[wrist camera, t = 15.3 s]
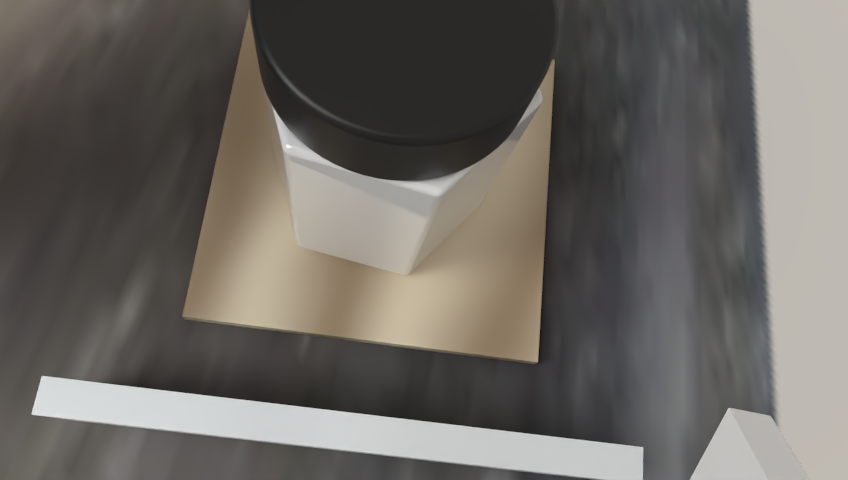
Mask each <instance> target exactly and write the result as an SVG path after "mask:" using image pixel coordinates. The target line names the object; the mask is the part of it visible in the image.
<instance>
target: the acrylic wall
mask: <svg viewBox="0 0 848 480" xmlns="http://www.w3.org/2000/svg"><path fill="white" fill-rule="evenodd" d="M31 415H38V416H45V417H52V418H59V419H66V420H73V421H82V422H91V423H100V424H108V425H117V426H126V427H135V428H144V429H152V430H161V431H170V432H179V433H188V434H196V435H205V436H214V437H223V438H232V439H241V440H249V441H258V442H267V443H276V444H285V445H293V446H302V447H311V448H320V449H329V450H338V451H346V452H355V453H364V454H373V455H382V456H390V457H399V458H408V459H417V460H426V461H435V462H443V463H452V464H461V465H470V466H479V467H487V468H496V469H505V470H514V471H523V472H532V473H540V474H549V475H558V476H567V477H576V478H584V479H593V480H643V447H637V446H628V445H620V444H611V443H603V442H594V441H586V440H578V439H569V438H561V437H552V436H544V435H536V434H527V433H519V432H510V431H502V430H493V429H485V428H477V427H468V426H460V425H451V424H443V423H434V422H426V421H418V420H409V419H401V418H392V417H384V416H375V415H367V414H359V413H350V412H342V411H333V410H325V409H316V408H308V407H300V406H291V405H283V404H274V403H266V402H257V401H249V400H241V399H232V398H224V397H215V396H207V395H199V394H190V393H182V392H173V391H165V390H156V389H148V388H140V387H131V386H123V385H114V384H106V383H97V382H89V381H81V380H72V379H64V378H55V377H47V376H42V377H41V381H40V385H39V388H38V392H37V396H36V399H35V403H34V407H33V410H32V414H31Z"/></svg>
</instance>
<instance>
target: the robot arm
mask: <svg viewBox="0 0 848 480" xmlns="http://www.w3.org/2000/svg"><path fill="white" fill-rule="evenodd" d="M690 480H810V479H809V478H808V476H807V474H806V473H805V471H804V470H803V468H802V466H801V465H800V463H799V461H798V460H797V458H796V457H795V455H794V453H793V452H792V450H791V448H790V447H789V445H788V443H787V442H786V440H785V439H784V437H783V435H782V434H781V432H780V430H779V429H778V427H777V425H776V424H775V422H774V421H773V419H772V417H771V416H769V415H764V414H759V413H754V412H749V411H744V410H739V409H733V408H728V410H727V412H726V414H725V416H724V418H723V419H722V421H721V423H720V425H719V427H718V429H717V430H716V432H715V434H714V436H713V438H712V440H711V442H710V443H709V445H708V447H707V449H706V451H705V453H704V454H703V456H702V458H701V460H700V462H699V464H698V466H697V467H696V469H695V471H694V473H693V475H692V477H691V478H690Z"/></svg>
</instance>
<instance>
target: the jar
mask: <svg viewBox="0 0 848 480" xmlns="http://www.w3.org/2000/svg"><path fill="white" fill-rule="evenodd" d="M249 9H250V19H251V25H252V30H253V36H254V42H255V47H256V53H257V59H258V64H259V70H260V75H261V81H262V87H263V92H264V98H265V104H266V109H267V115H268V121H269V126H270V132H271V138H272V143H273V149H274V153H275V157H276V161H277V165H278V169H279V173H280V177H281V182H282V186H283V190H284V194H285V198H286V202H287V206H288V210H289V215H290V219H291V223H292V227H293V231H294V235H295V239H296V243H297V244H298V245H299V246H300V247H303V248H306V249H310V250H313V251H317V252H321V253H324V254H328V255H331V256H335V257H339V258H342V259H346V260H349V261H353V262H357V263H360V264H364V265H367V266H371V267H375V268H378V269H382V270H385V271H389V272H392V273H396V274H400V275H408V274H409V273H411V272H412V271H413V270H414V269H415V268H416V267H417V266H418V265H419V264H420V263H421V262H422V261H423V260H424V259H425V258H426V257H427V256H428V255H429V254H430V253H431V252H432V251H433V250H434V249H435V248H436V247H437V246H438V245H439V244H441V243H442V242H443V241H444V240H445V239H446V238H447V237H448V236H449V235H450V234H451V233H452V232H453V231H454V230H455V229H456V228H457V227H458V226H459V225H460V224H461V223H462V222H463V221H464V220H465V219H466V218H467V217H468V216H469V215H471V214H472V213H473V212H474V211H475V210H476V209H477V208H478V207H479V206H480V204H481V203H482V201H483V199H484V198H485V196H486V194H487V193H488V191H489V189H490V188H491V186H492V184H493V183H494V181H495V179H496V178H497V176H498V174H499V173H500V171H501V170H502V168H503V166H504V165H505V163H506V161H507V160H508V158H509V156H510V155H511V153H512V151H513V150H514V148H515V146H516V145H517V143H518V141H519V140H520V138H521V136H522V135H523V133H524V132H525V130H526V128H527V127H528V125H529V123H530V122H531V120H532V118H533V117H534V115H535V113H536V112H537V110H538V108H539V107H540V105H541V103H542V100H543V96H542V93H541V90H540V85H541V83H542V81H543V80H544V78H545V76H546V74H547V72H548V69H549V67H550V64H551V62H552V58H553V55H554V51H555V47H556V41H557V34H558V14H557V5H556V0H249Z"/></svg>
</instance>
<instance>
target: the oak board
mask: <svg viewBox="0 0 848 480" xmlns="http://www.w3.org/2000/svg"><path fill="white" fill-rule="evenodd" d="M554 66H555V60H552V62H551V64H550V67H549V69H548V72H547V74H546V76H545V78H544V80H543V81H542V83H541V85H540V90H541V93H542V96H543V100H542V103H541V105H540V107H539V108H538V110H537V112H536V113H535V115H534V117H533V118H532V120H531V122H530V123H529V125H528V127H527V128H526V130H525V132H524V133H523V135H522V136H521V138H520V140H519V141H518V143H517V145H516V146H515V148H514V150H513V151H512V153H511V155H510V156H509V158H508V160H507V161H506V163H505V165H504V166H503V168H502V170H501V171H500V173H499V174H498V176H497V178H496V179H495V181H494V183H493V184H492V186H491V188H490V189H489V191H488V193H487V194H486V196H485V198H484V199H483V201H482V203H481V204H480V206H479V207H478V208H477V209H476V210H475V211H474V212H473V213H472V214H471V215H469V216H468V217H467V218H466V219H465V220H464V221H463V222H462V223H461V224H460V225H459V226H458V227H457V228H456V229H455V230H454V231H453V232H452V233H451V234H450V235H449V236H448V237H447V238H446V239H445V240H444V241H443V242H442V243H441V244H439V245H438V246H437V247H436V248H435V249H434V250H433V251H432V252H431V253H430V254H429V255H428V256H427V257H426V258H425V259H424V260H423V261H422V262H421V263H420V264H419V265H418V266H417V267H416V268H415V269H414V270H413V271H412V272H411V273H409V274H408V275H400V274H396V273H392V272H389V271H385V270H382V269H378V268H375V267H371V266H367V265H364V264H360V263H357V262H353V261H349V260H346V259H342V258H339V257H335V256H331V255H328V254H324V253H321V252H317V251H313V250H310V249H306V248H303V247H300V246H299V245H298V244H297V243H296V239H295V235H294V231H293V227H292V223H291V219H290V215H289V210H288V206H287V202H286V198H285V194H284V190H283V186H282V182H281V177H280V173H279V169H278V165H277V161H276V157H275V153H274V149H273V143H272V138H271V132H270V126H269V121H268V115H267V109H266V104H265V98H264V92H263V87H262V81H261V75H260V70H259V64H258V59H257V53H256V47H255V42H254V36H253V30H252V25H251V19H250V9H249V13H248V17H247V22H246V26H245V31H244V36H243V40H242V45H241V49H240V54H239V59H238V63H237V68H236V72H235V77H234V81H233V86H232V91H231V95H230V100H229V104H228V109H227V114H226V118H225V123H224V127H223V132H222V136H221V141H220V146H219V150H218V155H217V159H216V164H215V169H214V173H213V178H212V182H211V187H210V191H209V196H208V201H207V205H206V210H205V214H204V219H203V224H202V228H201V233H200V237H199V242H198V246H197V251H196V256H195V260H194V265H193V269H192V274H191V279H190V283H189V288H188V292H187V297H186V301H185V306H184V311H183V315H182V317H183V318H184V319H185V320H193V321H201V322H209V323H216V324H224V325H232V326H240V327H248V328H255V329H263V330H271V331H279V332H287V333H294V334H302V335H310V336H318V337H326V338H333V339H341V340H349V341H357V342H364V343H372V344H380V345H388V346H396V347H403V348H411V349H419V350H427V351H435V352H442V353H450V354H458V355H466V356H474V357H481V358H489V359H497V360H505V361H513V362H520V363H528V364H535V363H538V354H539V336H540V318H541V300H542V282H543V264H544V246H545V228H546V210H547V192H548V174H549V156H550V138H551V120H552V102H553V84H554Z"/></svg>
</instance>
